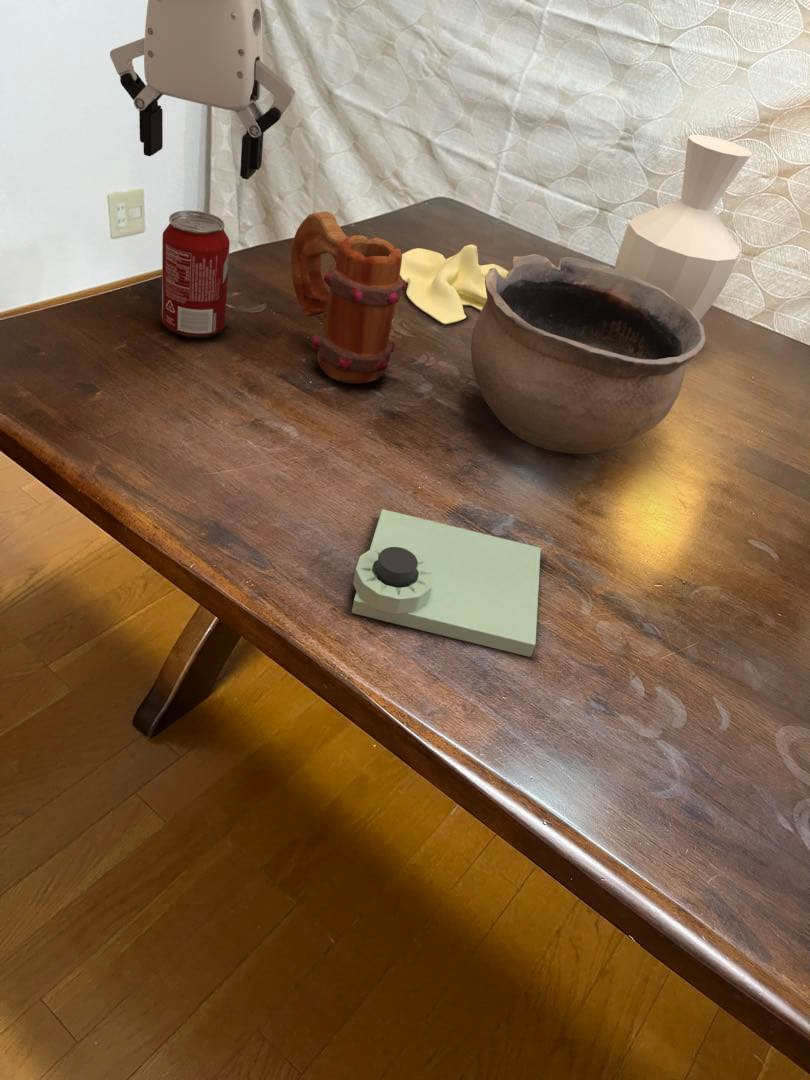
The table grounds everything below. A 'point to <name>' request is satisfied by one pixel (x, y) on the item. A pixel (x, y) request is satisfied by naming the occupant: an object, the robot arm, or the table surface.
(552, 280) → the ceramic bowl
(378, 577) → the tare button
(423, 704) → the table surface
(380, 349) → the mug
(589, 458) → the table surface
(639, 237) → the vase
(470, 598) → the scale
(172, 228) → the soda can
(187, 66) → the robot arm
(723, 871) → the table surface
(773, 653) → the table surface
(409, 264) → the cloth
